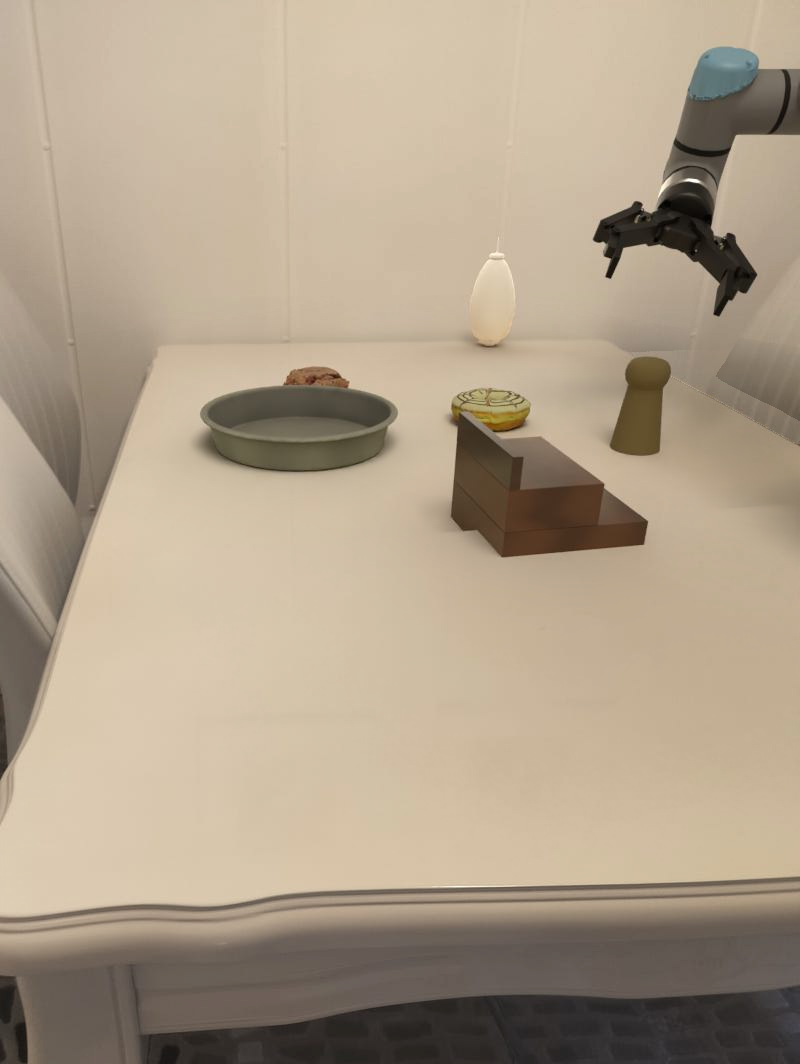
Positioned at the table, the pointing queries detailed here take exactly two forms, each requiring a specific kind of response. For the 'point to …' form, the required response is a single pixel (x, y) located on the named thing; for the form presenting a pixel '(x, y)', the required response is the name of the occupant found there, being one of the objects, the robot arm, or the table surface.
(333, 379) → the cookie
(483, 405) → the decorated donut
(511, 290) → the sauce bottle
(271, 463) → the cake pan
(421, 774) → the table surface
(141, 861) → the table surface
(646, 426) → the olive tall knobbed cone
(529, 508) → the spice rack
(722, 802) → the table surface
